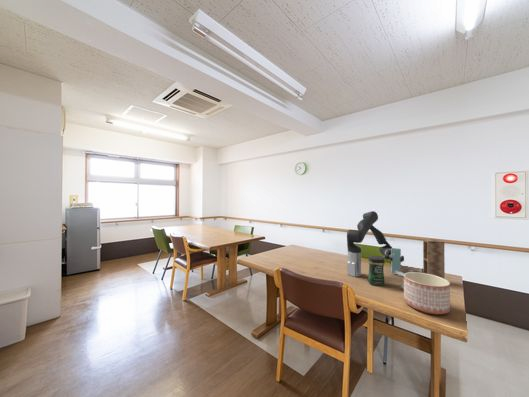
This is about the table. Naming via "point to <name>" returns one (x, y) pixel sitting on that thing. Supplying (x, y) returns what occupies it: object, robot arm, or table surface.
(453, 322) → the table surface
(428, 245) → the cabinet
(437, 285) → the planter
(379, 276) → the coffee jar
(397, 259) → the teal rectangular block
